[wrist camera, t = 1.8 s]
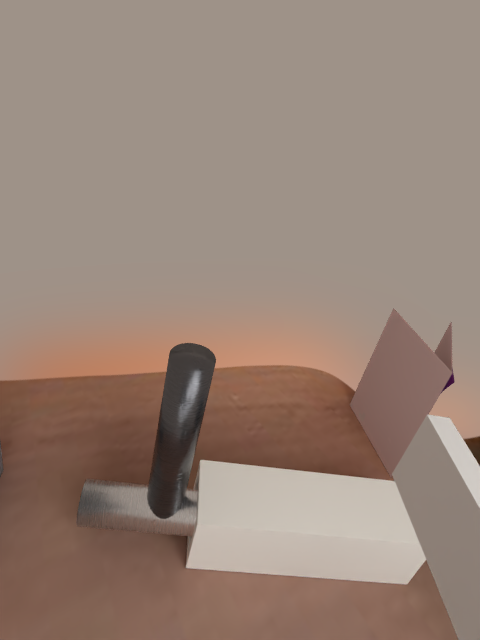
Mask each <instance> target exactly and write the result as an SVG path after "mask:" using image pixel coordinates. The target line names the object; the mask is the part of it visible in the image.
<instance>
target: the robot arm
mask: <svg viewBox="0 0 480 640" xmlns="http://www.w3.org/2000/svg"><path fill="white" fill-rule="evenodd" d="M392 476H393V478H394V481H395V483H396V486H397V488H398V491H399V493H400V496H401V498H402V500H403V503H404V505H405V508H406V510H407V513H408V515H409V518H410V520H411V523H412V525H413V528H414V530H415V533H416V535H417V538H418V540H419V543H420V545H421V548H422V550H423V553H424V555H425V558H426V560H427V563H428V565H429V568H430V570H431V573H432V575H433V577H434V580H435V582H436V585H437V587H438V590H439V592H440V595H441V597H442V600H443V602H444V605H445V607H446V610H447V612H448V615H449V617H450V620H451V622H452V625H453V627H454V630H455V632H456V635H457V637H458V640H480V466H479V464H478V463H477V461H476V459H475V458H474V456H473V454H472V453H471V451H470V450H469V448H468V446H467V445H466V443H465V441H464V440H463V438H462V437H461V435H460V433H459V432H458V430H457V429H456V427H455V425H454V424H453V422H452V421H451V419H450V418H448V417H441V416H434V415H426V417H425V419H424V420H423V422H422V424H421V426H420V427H419V429H418V431H417V432H416V434H415V436H414V437H413V439H412V441H411V443H410V444H409V446H408V448H407V449H406V451H405V453H404V454H403V456H402V458H401V459H400V461H399V463H398V465H397V466H396V468H395V470H394V471H393V473H392Z"/></svg>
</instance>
